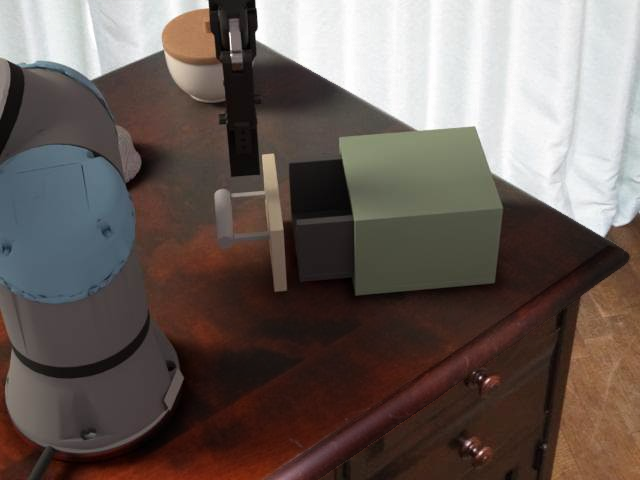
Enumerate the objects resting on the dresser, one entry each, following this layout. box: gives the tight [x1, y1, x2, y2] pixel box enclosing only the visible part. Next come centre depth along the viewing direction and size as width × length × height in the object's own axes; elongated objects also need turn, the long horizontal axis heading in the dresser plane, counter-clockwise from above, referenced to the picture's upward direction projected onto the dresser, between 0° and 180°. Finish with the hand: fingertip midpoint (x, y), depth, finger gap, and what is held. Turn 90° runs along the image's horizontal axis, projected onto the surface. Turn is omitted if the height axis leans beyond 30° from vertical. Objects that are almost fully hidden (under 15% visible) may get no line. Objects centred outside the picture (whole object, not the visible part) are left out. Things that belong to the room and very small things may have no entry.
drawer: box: [213, 153, 354, 293], centre depth 111 cm, size 18×11×8 cm, turn 96°
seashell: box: [115, 124, 142, 184], centre depth 125 cm, size 10×6×10 cm
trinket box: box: [160, 7, 256, 104], centre depth 133 cm, size 11×11×9 cm
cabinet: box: [338, 125, 504, 296], centre depth 112 cm, size 14×13×10 cm
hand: (245, 170), depth 107 cm, fingers closed
